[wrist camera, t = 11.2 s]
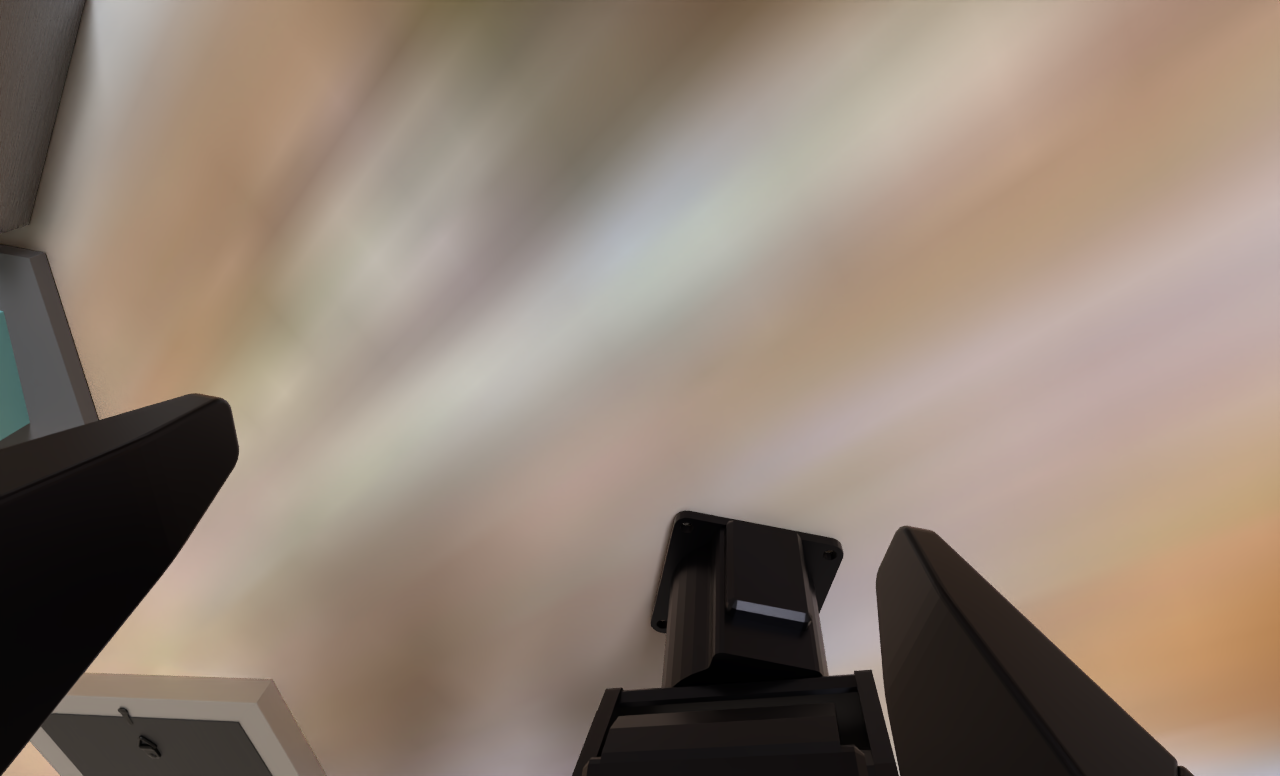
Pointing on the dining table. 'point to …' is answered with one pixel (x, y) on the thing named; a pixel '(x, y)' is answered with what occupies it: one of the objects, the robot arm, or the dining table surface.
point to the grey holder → (30, 95)
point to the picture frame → (174, 728)
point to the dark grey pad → (41, 348)
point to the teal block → (10, 387)
